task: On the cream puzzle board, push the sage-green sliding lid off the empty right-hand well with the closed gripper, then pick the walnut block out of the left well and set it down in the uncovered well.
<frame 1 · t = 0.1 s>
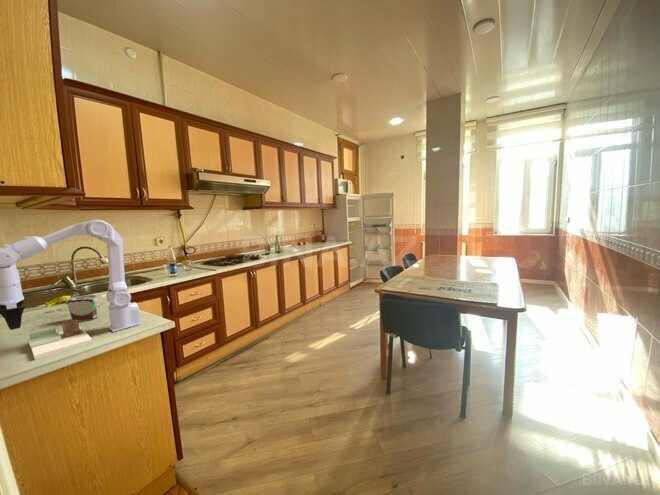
hand: (14, 326, 88), 10 cm above the countertop, tool pointing down, fingers open, 7 cm apart
walnut block: (72, 337, 101), resting in puzzle board
lid: (44, 337, 95), point 3 cm above the countertop, slide at 0.0 cm
food container: (88, 318, 122), on the countertop
puzzle board: (60, 343, 97), on the countertop
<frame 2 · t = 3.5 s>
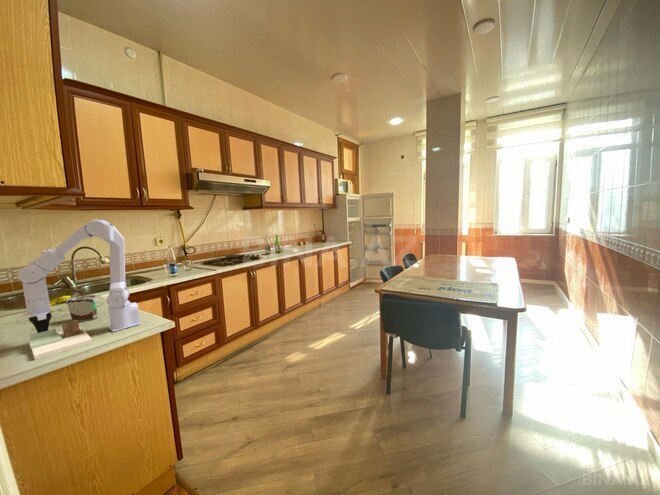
hand: (43, 334, 98), 3 cm above the countertop, tool pointing down, fingers closed
lid: (44, 337, 95), point 3 cm above the countertop, slide at 1.0 cm, touching gripper
everything else where it was.
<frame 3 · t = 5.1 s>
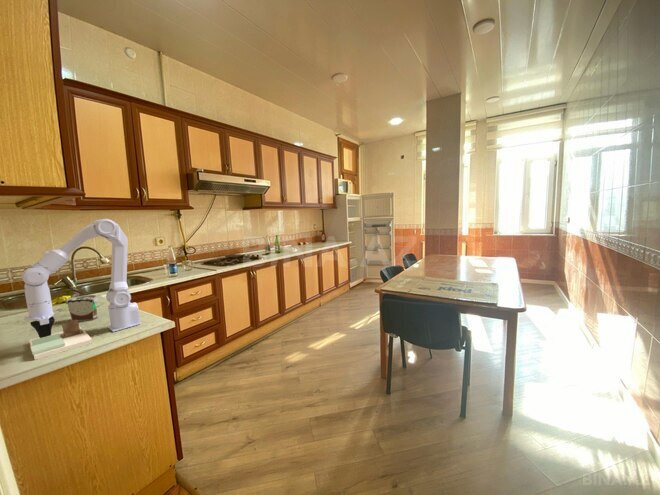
hand: (45, 339, 93), 3 cm above the countertop, tool pointing down, fingers closed
lid: (47, 343, 90), point 3 cm above the countertop, slide at 8.4 cm, touching gripper
everything else where it was.
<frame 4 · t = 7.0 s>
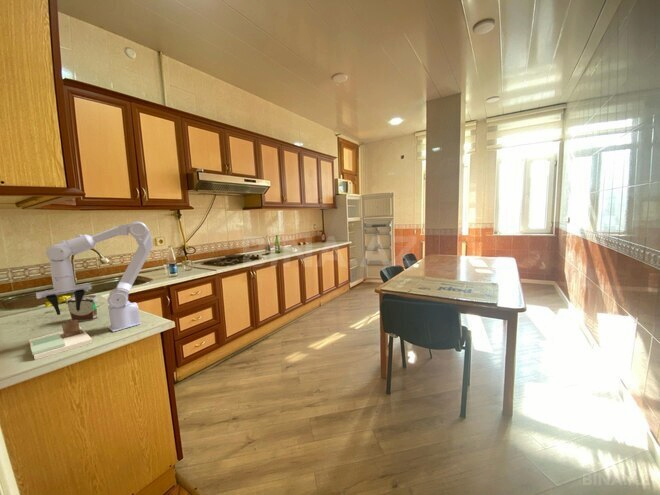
hand: (68, 312, 100), 10 cm above the countertop, tool pointing down, fingers open, 5 cm apart
lid: (47, 343, 90), point 3 cm above the countertop, slide at 8.5 cm
everything else where it was.
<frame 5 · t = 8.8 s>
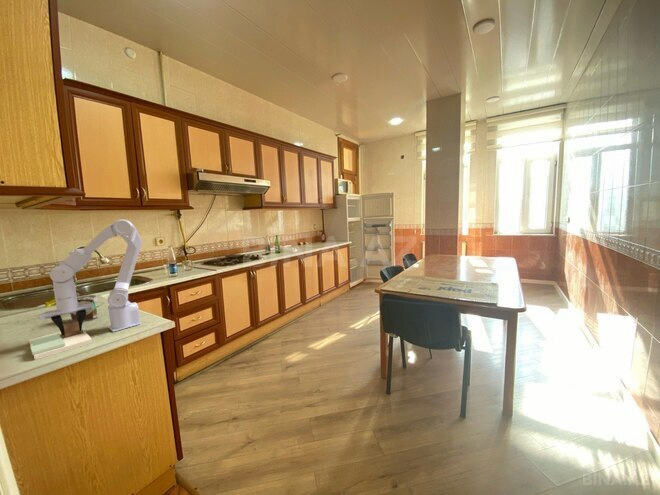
hand: (71, 332, 101), 2 cm above the countertop, tool pointing down, fingers closed on walnut block, 4 cm apart
walnut block: (72, 337, 101), resting in puzzle board, touching gripper
everything else where it was.
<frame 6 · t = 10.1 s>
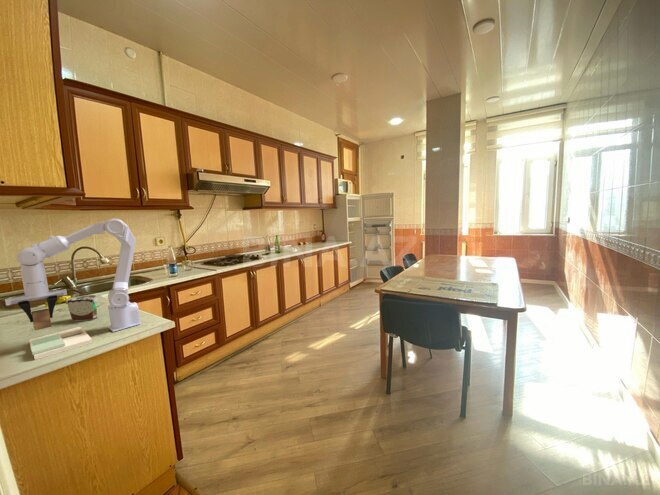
hand: (41, 319, 95), 9 cm above the countertop, tool pointing down, fingers closed on walnut block, 4 cm apart
walnut block: (42, 327, 95), point 7 cm above the countertop, touching gripper
everything else where it was.
when the fingers open (3 cm above the countertop, at t = 11.7 s): walnut block stays where it is, resting in puzzle board.
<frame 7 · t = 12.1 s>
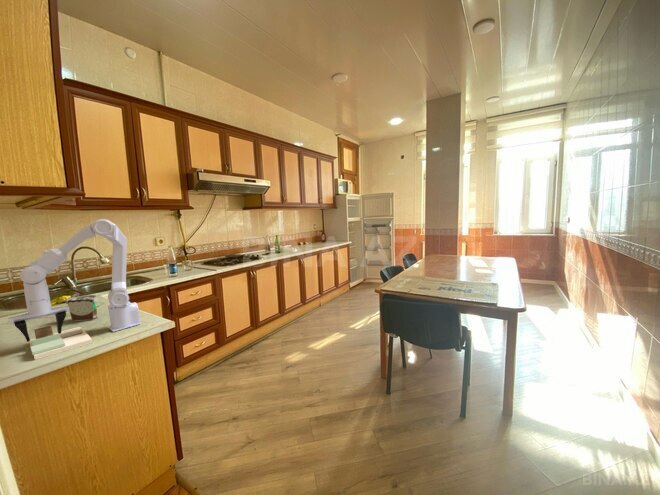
hand: (44, 336, 95), 3 cm above the countertop, tool pointing down, fingers open, 7 cm apart
walnut block: (45, 344, 96), resting in puzzle board
everything else where it was.
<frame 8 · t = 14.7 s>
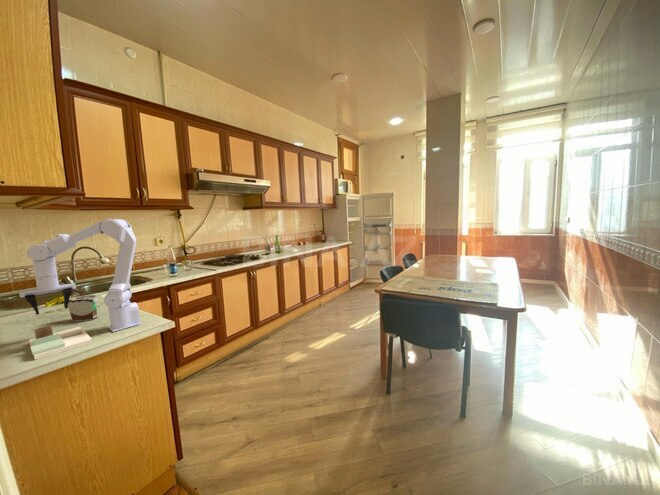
hand: (52, 310, 102), 10 cm above the countertop, tool pointing down, fingers open, 7 cm apart
nothing on the countertop moved.
at the end: walnut block 0.1 cm from the target spot, resting in puzzle board; lid slide at 8.5 cm; walnut block tilted 0° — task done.
